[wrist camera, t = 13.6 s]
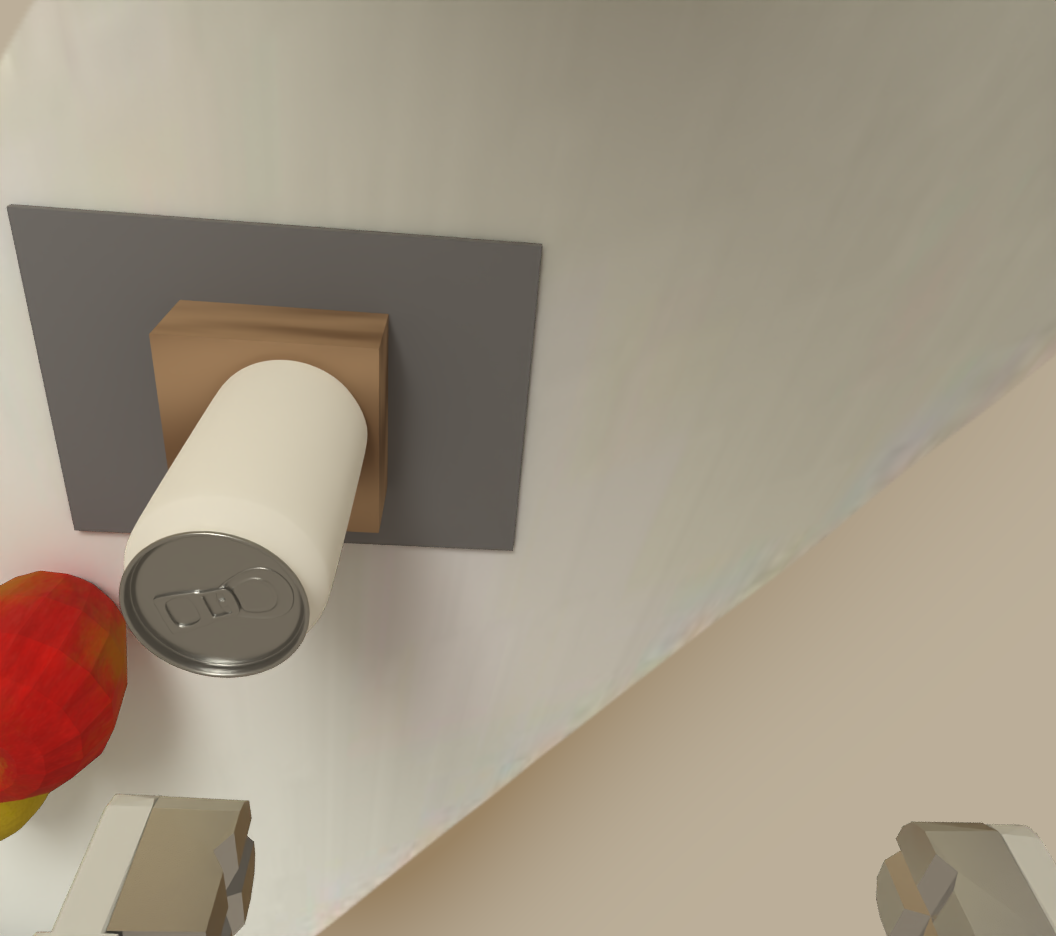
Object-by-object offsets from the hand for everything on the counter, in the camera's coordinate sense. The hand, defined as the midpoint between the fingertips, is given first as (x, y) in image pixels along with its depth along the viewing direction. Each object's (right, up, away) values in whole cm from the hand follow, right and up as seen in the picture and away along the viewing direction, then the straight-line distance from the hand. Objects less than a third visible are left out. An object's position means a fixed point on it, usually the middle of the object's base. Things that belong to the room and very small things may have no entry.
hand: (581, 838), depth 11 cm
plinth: (-12, +8, +30) cm, 33 cm away
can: (-11, +7, +26) cm, 29 cm away
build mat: (-12, +8, +30) cm, 33 cm away
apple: (-25, -2, +36) cm, 44 cm away
